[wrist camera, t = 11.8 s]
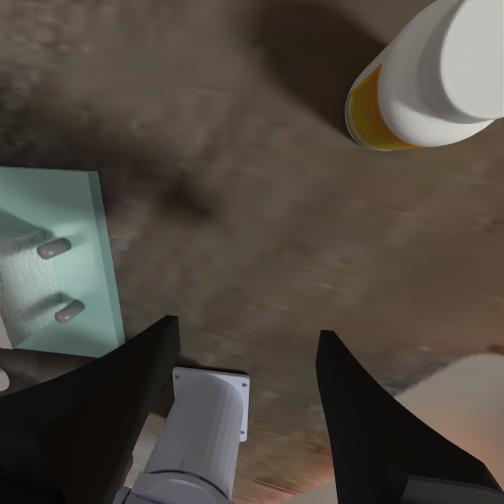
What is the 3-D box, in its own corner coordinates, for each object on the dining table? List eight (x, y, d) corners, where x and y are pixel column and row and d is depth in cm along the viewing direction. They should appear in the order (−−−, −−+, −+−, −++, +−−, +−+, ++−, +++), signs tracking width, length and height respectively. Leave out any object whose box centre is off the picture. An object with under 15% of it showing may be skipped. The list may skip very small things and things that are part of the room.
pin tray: (127, 351, 26) (107, 376, 23) (4, 337, 27) (-29, 359, 24) (97, 171, 20) (66, 173, 17) (-60, 162, 21) (-115, 163, 18)
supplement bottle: (395, 165, 18) (516, 170, 9) (327, 129, 17) (379, 97, 8) (448, 83, 16) (674, -20, 7) (374, 41, 16) (507, -124, 6)
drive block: (65, 312, 24) (11, 349, 19) (22, 307, 24) (-41, 343, 19) (44, 230, 21) (-25, 251, 16) (-4, 226, 21) (-85, 245, 17)
